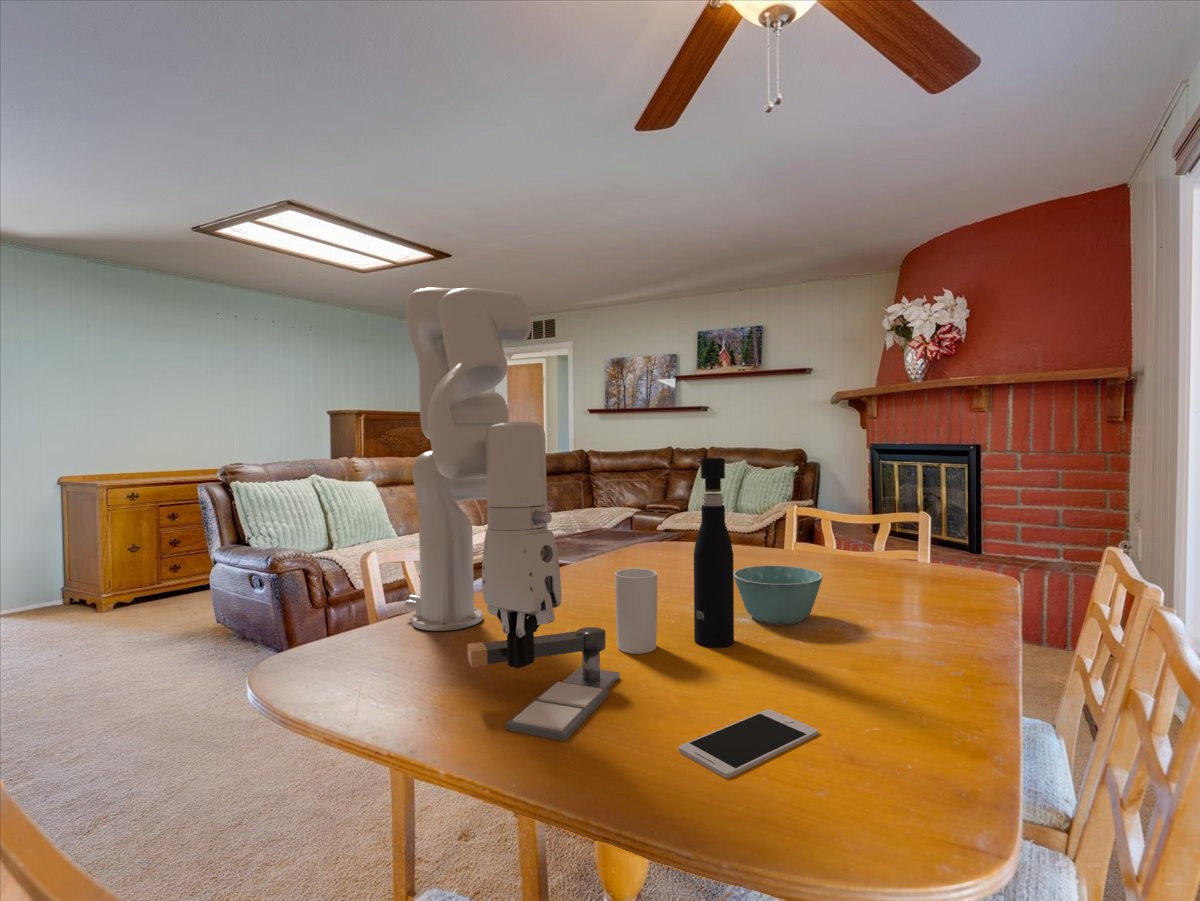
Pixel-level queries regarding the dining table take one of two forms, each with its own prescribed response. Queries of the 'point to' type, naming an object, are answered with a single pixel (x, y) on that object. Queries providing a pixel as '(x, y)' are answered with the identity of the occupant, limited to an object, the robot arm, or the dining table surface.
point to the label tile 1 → (547, 720)
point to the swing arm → (540, 646)
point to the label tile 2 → (574, 696)
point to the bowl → (778, 592)
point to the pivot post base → (592, 673)
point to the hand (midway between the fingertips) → (521, 664)
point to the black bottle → (713, 565)
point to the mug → (636, 610)
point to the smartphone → (747, 742)
